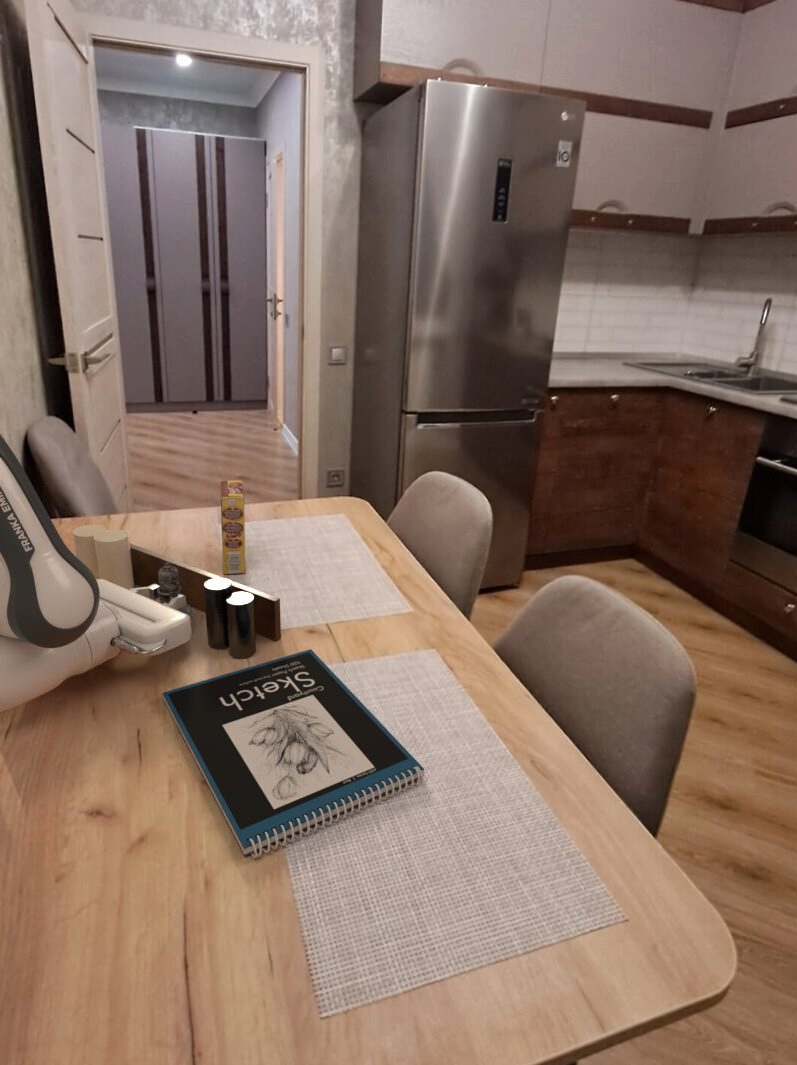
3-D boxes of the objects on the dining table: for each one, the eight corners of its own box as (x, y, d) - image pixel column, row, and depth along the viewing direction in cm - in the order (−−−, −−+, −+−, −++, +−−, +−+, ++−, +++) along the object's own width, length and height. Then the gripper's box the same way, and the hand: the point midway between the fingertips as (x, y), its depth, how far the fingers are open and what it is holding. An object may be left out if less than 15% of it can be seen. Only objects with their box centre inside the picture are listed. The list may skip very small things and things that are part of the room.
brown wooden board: (113, 575, 119) (108, 539, 117) (118, 572, 120) (114, 537, 118) (276, 641, 102) (274, 601, 99) (281, 638, 103) (280, 598, 100)
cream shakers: (74, 590, 113) (64, 528, 109) (101, 579, 118) (92, 519, 113) (116, 609, 108) (107, 544, 104) (142, 596, 113) (135, 534, 108)
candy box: (247, 574, 122) (244, 495, 116) (223, 575, 121) (218, 496, 115) (245, 553, 130) (242, 479, 124) (222, 555, 129) (218, 480, 123)
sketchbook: (310, 656, 99) (310, 644, 98) (428, 785, 76) (429, 770, 75) (162, 700, 88) (161, 686, 87) (248, 866, 65) (247, 850, 64)
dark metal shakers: (202, 644, 100) (197, 585, 96) (221, 632, 103) (217, 575, 100) (243, 662, 96) (240, 601, 93) (262, 649, 100) (259, 590, 96)
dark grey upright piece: (162, 646, 99) (154, 573, 95) (147, 629, 103) (139, 558, 99) (199, 634, 103) (194, 563, 98) (184, 618, 107) (178, 550, 102)
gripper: (139, 636, 84) (220, 594, 95) (40, 590, 93) (124, 557, 104) (144, 678, 86) (222, 633, 97) (47, 630, 95) (128, 593, 107)
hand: (171, 593), depth 101 cm, fingers closed on dark grey upright piece, 3 cm apart
